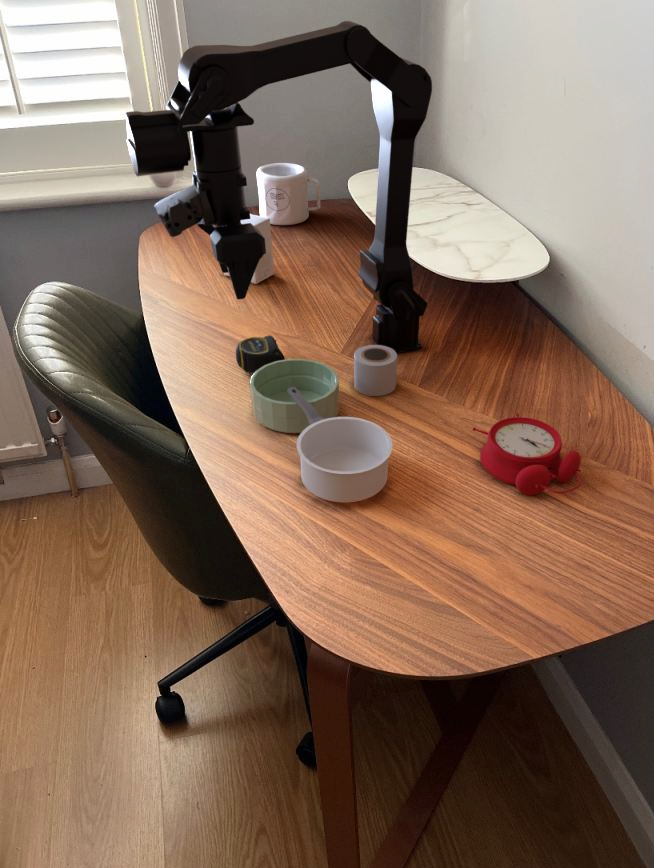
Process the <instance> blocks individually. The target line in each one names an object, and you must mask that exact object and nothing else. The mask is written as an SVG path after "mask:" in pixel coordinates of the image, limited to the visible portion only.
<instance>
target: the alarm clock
mask: <svg viewBox="0 0 654 868" xmlns="http://www.w3.org/2000/svg"><path fill="white" fill-rule="evenodd" d="M472 431H474V432H475V431H476V432H479V433H480V434H483V435H486V436H487V439H486V443H485V444H484V445H483V446H482V448H481V450H480V455H479V460H480V464H481V466H482V467H483V469H484V470H485V471H486V472H487V473H488V474H489V475H490V476H492V477H494V478H495V479H497V480H499V481H501V482H503V483H505V484H510V485H514V486H515V487H516V489H517V491H518V492H519V493H521V494H522V495H526V496H536V495H538V494H541V493H543V492H544V491H548V492H550V493H553V494H566V493H569V492H572V491H574V490H577V489H578V488H579V487H581V486H582V484H583V480H582V477H581V476H580V475H579V473H581V472H582V470H581V469H580V466H581V462H582V457H581V454H580V453H579V452H578V451H577V450H575V449H571V450H570V451H568V453H567V454H566V455H565V456H564V457H563V458H562V456H561V451H562V447H563V442H562V437H561V435H560V433H559V432H558V431H557V430H556V428H554V427H553V426H551V425H550V424H548V423H546V422H544V421H541V420H539V419H534V418H531V417H524V416H520V413H515V416H514V417H507V418H504V419H501V420H499V421H497V422H495V423H494V424H493V425H492V426H491V427H490V429H489V431H484V430H481V429H477V428H476V427H473V428H472ZM575 476H576V477H577V478H578V479H579V483H578V484H577V485H576V486H573V487H572V488H569V489H565V490H553V489H550V488H548V486H549V484H550V483H551V482H552V481H554V480H557V481H558V482H559V483H563V484H565V483H569V482H571V481H572V480H573V479H574V478H575Z"/></svg>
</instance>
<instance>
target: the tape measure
mask: <svg viewBox="0 0 654 868" xmlns="http://www.w3.org/2000/svg"><path fill="white" fill-rule="evenodd" d="M235 359H236V363H237V365H238V367H239V368H240V369H241V370H242V371H244V372H246V373H249V374H254V373H255V372H256V370H258V369H260V368H261V367H263V366H264V365H267V364H269V363H272V362H275V361H280V360H286V358H285V356H284V353H283V352H282V351H281V349H280V348H279V346H278V343H277V339H275V337H274V336H272V335H265V336H263V337H261V336H252V337H247V338H244V339H243V340H241V341H239V343H238V344H237V346H236V348H235Z"/></svg>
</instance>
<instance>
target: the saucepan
mask: <svg viewBox="0 0 654 868" xmlns="http://www.w3.org/2000/svg"><path fill="white" fill-rule="evenodd" d="M287 392H288V393H289V394H290V396H291V397H292V398H293V399H294V400H295V402H296V403H297V404H298V405H299V406H300V407H301V409H302V410H303V411H304V412H305V414H306V416H307V419H308V421H309V424H310V426H308V427H307V428H306V429H304V430H303V431H302V433H299V435H298V437H297V439H296V450H297V454H298V455H299V458H300V477H301V481H302V483H303V485H304V488H305V489H306V490H308V491H309V492H310V493H311V494H313V495H314V496H316V497H318V498H320V499H323V500H326V501H329V502H334V503H335V502H336V503H354V502H361V501H364V500H367V499H369V498H371V497H374V496H375V495H377V494H378V493H380V491H382V489H384V487H385V486H386V484H387V482H388V476H389V458H390V456H391V454H392V452H393V451H392V450H393V440H392V438H391V436H390V434H389V433H388V432H387V430H385V428H383V426H381V425H379V424H377V423H375V422H373V421H370V420H368V419H364V418H361V417H354V416H336V417H333V418H328V419H325V418H323V417H321V416H320V414H319V413H318V412H317V411H316V409H315V408H314V407H313V406H312V405H311V404H310V403H309V402H308V401H307V400H306V398H305V397H304V396H303V395H302V394H301V393H300V392H299V391H298V390H297V389H296V387H291V388H288V389H287Z"/></svg>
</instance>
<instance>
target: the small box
mask: <svg viewBox="0 0 654 868" xmlns="http://www.w3.org/2000/svg"><path fill="white" fill-rule="evenodd" d="M247 223H251V224H252V225H253V226H255V227H256V228H257V229H258V230H259V231H260V233H261V234H262V235H263V237H264V238H265V246H266V254H264V255H263V257H262V258H260V260H259V263H258V265H257V267H256V270H255V272H254V275H253V277H252V280H251V283H250V284H255V285H257V284H259V283H261V282H262V281H265V280H266V279H268V278H270V277H271V276H273V275H275V265H274V254H273V253H274V251H273V244H272V243H273V241H272V230H271V229H272V228H271V224H270V219H269V218H265V217H261V216H260V215H256V214H252V213H250V219H246V220H241V224H247ZM223 276H226V277H230V276H229V273H223Z"/></svg>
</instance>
